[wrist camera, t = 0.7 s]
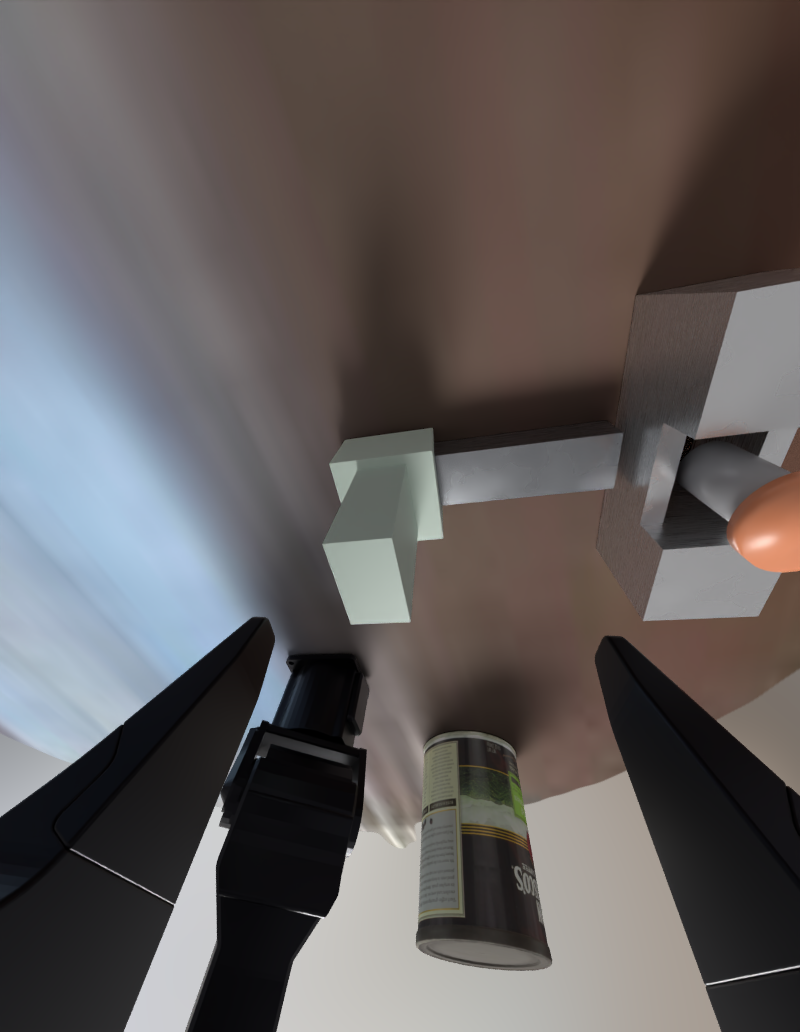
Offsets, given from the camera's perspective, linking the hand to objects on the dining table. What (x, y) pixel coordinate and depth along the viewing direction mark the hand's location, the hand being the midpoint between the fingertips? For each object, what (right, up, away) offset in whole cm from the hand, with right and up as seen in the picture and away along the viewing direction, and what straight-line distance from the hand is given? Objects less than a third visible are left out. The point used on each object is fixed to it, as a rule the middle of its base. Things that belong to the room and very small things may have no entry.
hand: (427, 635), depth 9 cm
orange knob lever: (+13, +5, +6) cm, 15 cm away
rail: (+3, +6, +11) cm, 13 cm away
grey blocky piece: (+13, +7, +9) cm, 18 cm away
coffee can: (+7, -23, +29) cm, 38 cm away
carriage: (-1, +6, +11) cm, 13 cm away
